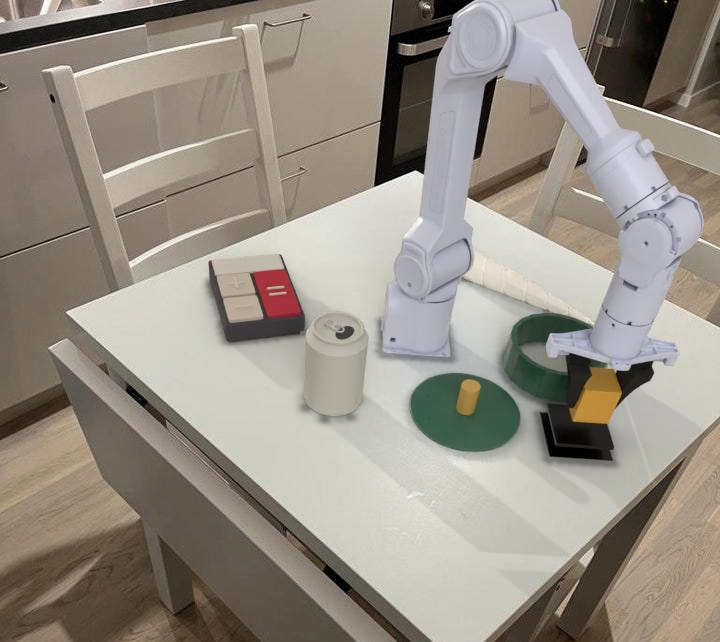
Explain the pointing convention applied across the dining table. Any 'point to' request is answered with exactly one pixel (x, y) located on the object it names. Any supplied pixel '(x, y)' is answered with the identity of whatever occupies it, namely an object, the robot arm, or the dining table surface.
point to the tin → (531, 373)
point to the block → (597, 397)
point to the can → (335, 363)
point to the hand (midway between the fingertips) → (589, 403)
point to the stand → (575, 436)
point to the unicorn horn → (516, 286)
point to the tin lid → (464, 412)
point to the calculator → (255, 297)
